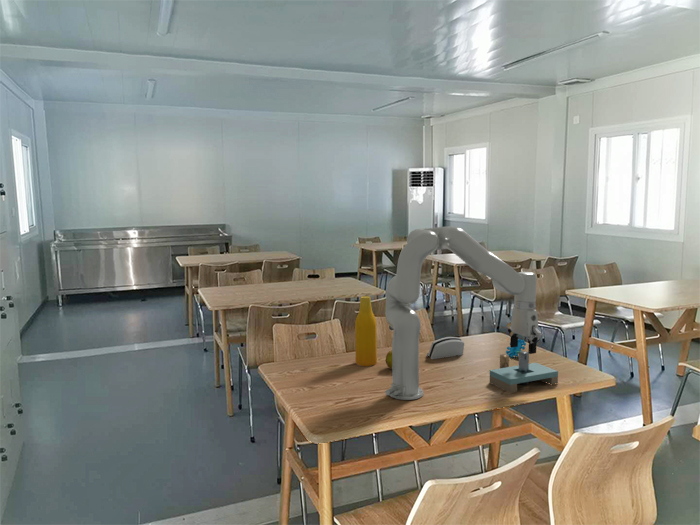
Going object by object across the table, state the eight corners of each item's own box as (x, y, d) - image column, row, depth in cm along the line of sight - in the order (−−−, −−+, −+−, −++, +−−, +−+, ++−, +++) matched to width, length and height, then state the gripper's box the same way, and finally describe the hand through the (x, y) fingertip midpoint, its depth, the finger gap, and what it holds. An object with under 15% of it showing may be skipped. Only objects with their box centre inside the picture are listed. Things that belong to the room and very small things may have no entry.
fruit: (402, 364, 232) (402, 346, 231) (412, 370, 223) (412, 351, 223) (382, 367, 228) (381, 348, 228) (391, 373, 220) (391, 354, 219)
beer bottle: (375, 367, 229) (375, 299, 226) (354, 366, 231) (352, 298, 227) (378, 360, 238) (377, 295, 235) (357, 360, 240) (356, 295, 236)
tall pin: (525, 385, 203) (526, 354, 202) (516, 383, 205) (517, 352, 204) (529, 383, 206) (530, 352, 204) (520, 381, 208) (521, 350, 207)
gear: (501, 350, 246) (517, 334, 245) (509, 358, 247) (525, 342, 246) (512, 360, 235) (529, 344, 234) (520, 368, 237) (537, 352, 236)
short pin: (506, 371, 220) (506, 357, 219) (498, 370, 222) (498, 355, 221) (510, 369, 222) (510, 355, 222) (502, 367, 225) (502, 353, 224)
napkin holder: (457, 351, 250) (461, 333, 246) (462, 357, 246) (467, 339, 242) (425, 356, 243) (429, 337, 239) (430, 362, 239) (435, 343, 235)
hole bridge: (510, 392, 196) (510, 379, 195) (489, 382, 207) (489, 370, 206) (557, 384, 204) (558, 371, 204) (535, 374, 215) (535, 362, 215)
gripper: (549, 308, 196) (547, 354, 198) (516, 300, 211) (514, 343, 213) (533, 310, 193) (531, 357, 195) (501, 302, 208) (499, 345, 210)
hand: (522, 350), depth 204 cm, fingers open, 9 cm apart
